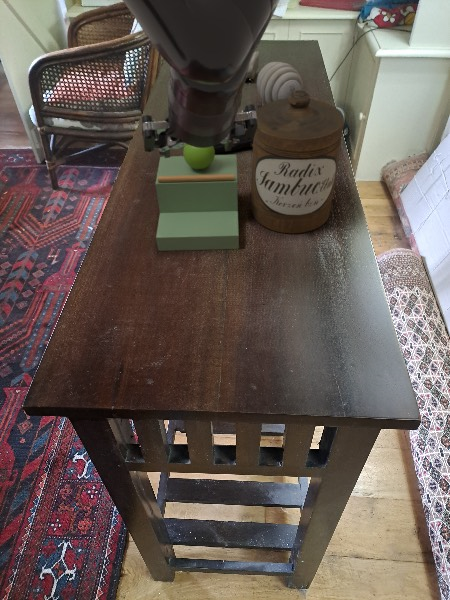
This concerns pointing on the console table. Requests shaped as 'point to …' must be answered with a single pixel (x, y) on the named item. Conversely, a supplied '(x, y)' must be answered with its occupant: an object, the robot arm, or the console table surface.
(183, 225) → the green step block
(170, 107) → the robot arm
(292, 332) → the console table surface
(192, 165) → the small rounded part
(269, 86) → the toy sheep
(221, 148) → the carrying case
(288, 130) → the wooden container
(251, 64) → the ceramic sculpture
